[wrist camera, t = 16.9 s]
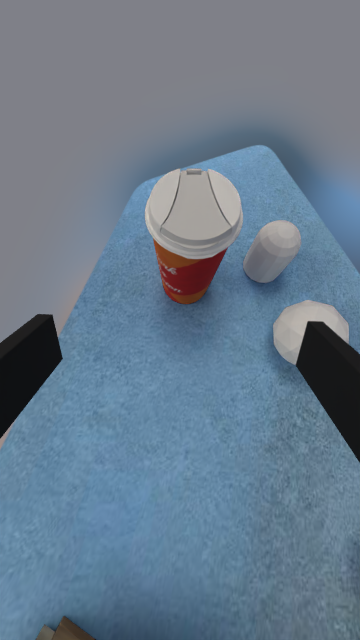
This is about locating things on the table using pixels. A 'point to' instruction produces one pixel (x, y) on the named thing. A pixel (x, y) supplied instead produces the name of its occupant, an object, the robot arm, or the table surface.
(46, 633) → the drawer
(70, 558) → the table surface
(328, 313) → the geometric ball
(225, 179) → the coffee cup
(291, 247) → the capsule
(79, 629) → the cabinet
